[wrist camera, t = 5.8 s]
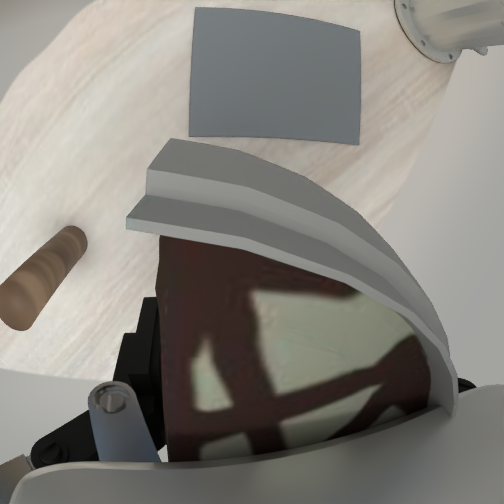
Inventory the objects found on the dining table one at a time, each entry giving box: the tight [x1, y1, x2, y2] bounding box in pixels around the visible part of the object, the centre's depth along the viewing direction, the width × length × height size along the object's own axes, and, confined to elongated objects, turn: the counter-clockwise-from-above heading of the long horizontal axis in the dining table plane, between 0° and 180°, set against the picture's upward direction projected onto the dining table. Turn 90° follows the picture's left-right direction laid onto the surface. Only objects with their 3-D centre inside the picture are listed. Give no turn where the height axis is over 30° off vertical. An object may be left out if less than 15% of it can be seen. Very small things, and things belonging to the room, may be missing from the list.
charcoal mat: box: [189, 7, 361, 145], centre depth 26 cm, size 18×14×1 cm
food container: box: [126, 138, 459, 462], centre depth 9 cm, size 12×6×10 cm, turn 172°
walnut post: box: [0, 226, 87, 331], centre depth 22 cm, size 4×4×14 cm
